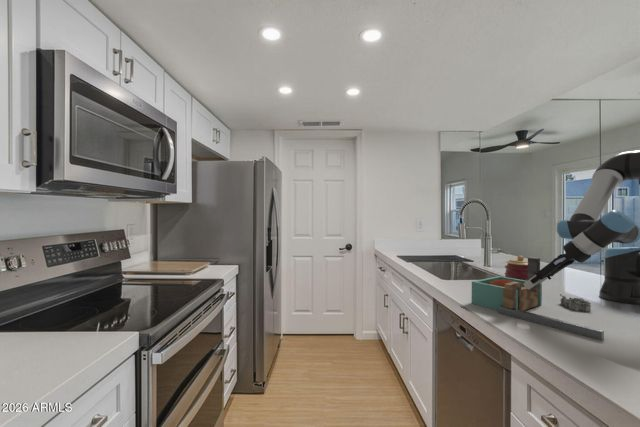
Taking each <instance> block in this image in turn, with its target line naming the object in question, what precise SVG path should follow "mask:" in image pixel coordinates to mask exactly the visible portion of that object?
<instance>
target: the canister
mask: <svg viewBox="0 0 640 427" xmlns="http://www.w3.org/2000/svg"><path fill="white" fill-rule="evenodd" d="M506 263H507V264H506V265H504V268H505V272H504V277H507V278H513V279H519V280H525V281H528V259H525V258H524V256H523V255H518V256H517V258H511V259H509V260H507V261H506Z"/></svg>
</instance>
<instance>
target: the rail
mask: <svg viewBox="0 0 640 427" xmlns="http://www.w3.org/2000/svg"><path fill="white" fill-rule="evenodd" d="M497 311H498V312H497V313H498V314H500V315H505V316H509V317H513V318H515V319H519V320H520V319H521V320H524V321H528V322H531V323H535V324H539V325H542V326H546V327H550V328H555V329H558V330H560V331H565V332H569V333H572V334H576V335H580V336H583V337H587V338H591V339H594V340H599V341H603V340H604V339H605V330H603V329H600V328H595V327H591V326H587V325H583V324H578V323H574V322H569V321H566V320H562V319H558V318H553V317H550V316H546V315H542V314H537V313H533V312H531V311H526V310H524V311H522V310H518V309H514V308H513V309H510V308H506V307H503V306H498V310H497Z"/></svg>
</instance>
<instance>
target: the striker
mask: <svg viewBox="0 0 640 427" xmlns="http://www.w3.org/2000/svg"><path fill="white" fill-rule="evenodd" d="M527 260H528V280H529V279H530V278H532V277H533V276H535V275H536V274H535V272H538V271H540V270H541V257H533V256H530V257H527ZM516 290H518V310H522V311H526V310H528V309H533V308H535V307H537V306H538V307H539V305H538V292H540V282H539V283H538V284H537V285H535V286H534V287H532V288H531V289H530V290H528V289H527V288H526V287H522V284H520V283H519V282H510V283H506V284H505V288H503V307H506V308H510V309H513V308H516Z"/></svg>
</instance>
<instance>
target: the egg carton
mask: <svg viewBox="0 0 640 427" xmlns="http://www.w3.org/2000/svg"><path fill="white" fill-rule="evenodd" d="M559 296H560V297H561V298H560V304H561V305H562V306H564V307H566V308H568V309H570V310H573V311H583V312H589V311H590V312H591V310H592V309H591V308H592V307H591V304H592V303H591V302H589V301H588V300H585V299H584V298H582V297H578V298H577V297H574V298H573V297H568V298H566V295H562V294H559Z"/></svg>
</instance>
